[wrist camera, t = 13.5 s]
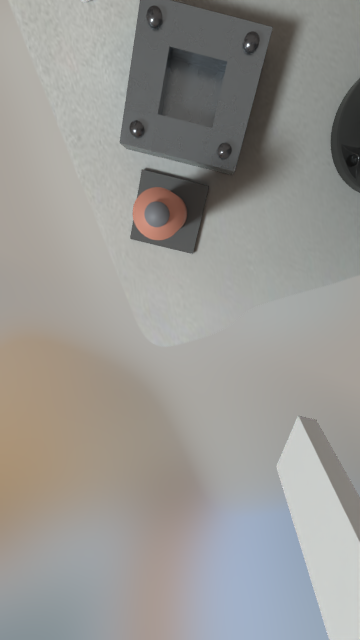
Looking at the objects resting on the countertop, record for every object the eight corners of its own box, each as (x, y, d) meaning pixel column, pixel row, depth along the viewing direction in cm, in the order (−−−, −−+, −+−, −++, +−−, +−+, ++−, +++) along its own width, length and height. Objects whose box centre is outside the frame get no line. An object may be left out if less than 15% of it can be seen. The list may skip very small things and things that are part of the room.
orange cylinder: (191, 198, 42) (187, 193, 30) (182, 236, 44) (175, 246, 32) (154, 189, 42) (136, 180, 30) (147, 227, 44) (126, 233, 32)
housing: (265, 45, 37) (274, 24, 32) (231, 174, 41) (235, 170, 37) (147, 14, 36) (140, -12, 32) (126, 148, 41) (118, 141, 37)
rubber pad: (209, 186, 42) (209, 186, 41) (192, 253, 45) (192, 253, 44) (142, 170, 42) (142, 169, 41) (131, 238, 45) (130, 238, 44)
